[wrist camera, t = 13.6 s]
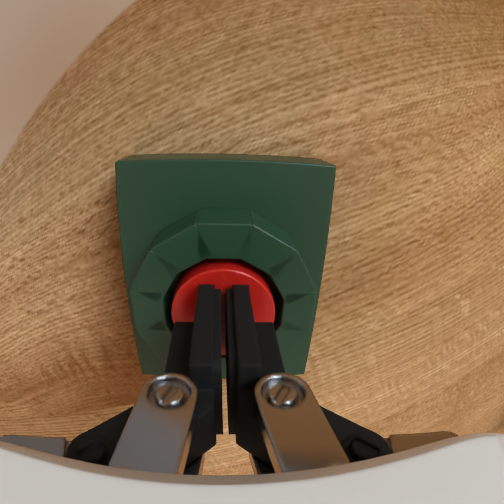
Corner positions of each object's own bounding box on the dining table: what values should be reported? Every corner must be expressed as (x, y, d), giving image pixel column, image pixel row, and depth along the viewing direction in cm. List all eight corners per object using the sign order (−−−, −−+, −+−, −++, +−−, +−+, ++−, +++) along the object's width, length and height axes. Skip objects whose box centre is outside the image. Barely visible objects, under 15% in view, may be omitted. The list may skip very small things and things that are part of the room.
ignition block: (131, 154, 12) (96, 168, 9) (319, 158, 13) (355, 173, 9) (149, 346, 16) (135, 401, 12) (295, 347, 17) (312, 401, 13)
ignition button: (174, 247, 11) (166, 268, 10) (272, 249, 12) (280, 269, 10) (180, 327, 13) (175, 355, 11) (265, 328, 13) (271, 355, 12)
